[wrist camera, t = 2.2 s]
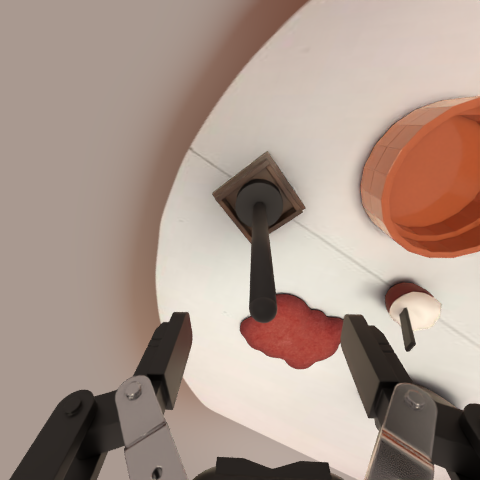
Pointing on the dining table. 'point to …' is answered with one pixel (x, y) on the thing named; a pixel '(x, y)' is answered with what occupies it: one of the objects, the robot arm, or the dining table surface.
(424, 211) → the orange round dish
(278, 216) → the black plunger
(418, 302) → the cocoa
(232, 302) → the dining table surface
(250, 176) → the small square brown tray
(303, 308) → the patty
